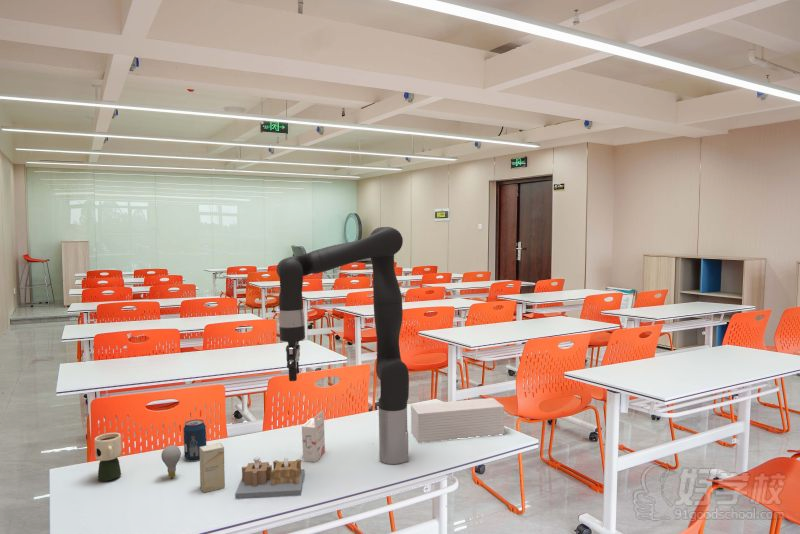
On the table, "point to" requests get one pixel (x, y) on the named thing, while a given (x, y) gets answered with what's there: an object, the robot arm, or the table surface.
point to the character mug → (108, 455)
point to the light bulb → (171, 459)
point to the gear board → (270, 489)
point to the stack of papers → (456, 419)
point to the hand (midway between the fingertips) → (294, 377)
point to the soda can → (194, 439)
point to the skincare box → (212, 467)
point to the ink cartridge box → (313, 438)
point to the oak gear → (285, 472)
